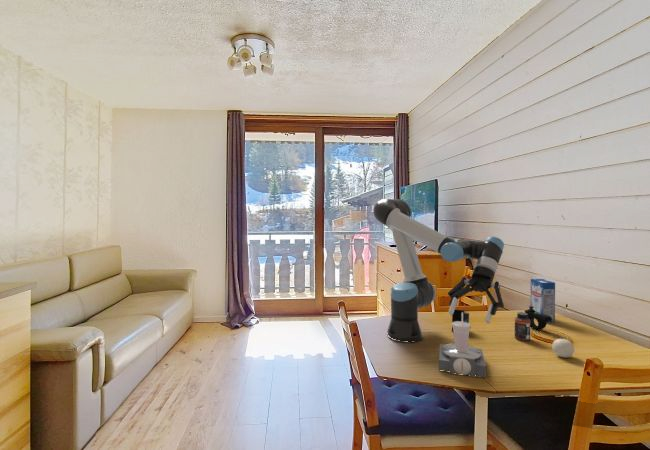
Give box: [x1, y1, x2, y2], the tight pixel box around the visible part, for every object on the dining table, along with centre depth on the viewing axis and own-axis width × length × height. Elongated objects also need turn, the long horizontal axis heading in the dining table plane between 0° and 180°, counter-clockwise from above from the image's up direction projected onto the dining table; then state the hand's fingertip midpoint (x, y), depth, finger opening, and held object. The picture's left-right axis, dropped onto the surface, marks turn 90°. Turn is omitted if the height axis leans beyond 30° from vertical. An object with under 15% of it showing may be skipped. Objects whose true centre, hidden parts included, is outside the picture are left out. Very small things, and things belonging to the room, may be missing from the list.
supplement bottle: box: [514, 311, 531, 342], centre depth 145 cm, size 6×6×11 cm
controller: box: [524, 305, 552, 330], centre depth 156 cm, size 4×12×10 cm, turn 18°
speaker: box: [451, 308, 470, 333], centre depth 156 cm, size 8×6×10 cm
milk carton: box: [529, 278, 556, 323], centre depth 170 cm, size 10×6×20 cm, turn 179°
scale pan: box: [442, 342, 481, 360], centre depth 121 cm, size 13×13×1 cm
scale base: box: [438, 343, 487, 378], centre depth 121 cm, size 15×16×6 cm
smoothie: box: [451, 312, 472, 352], centre depth 121 cm, size 6×6×14 cm
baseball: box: [551, 338, 575, 359], centre depth 127 cm, size 7×7×7 cm
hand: (467, 317), depth 122 cm, fingers open, 13 cm apart
